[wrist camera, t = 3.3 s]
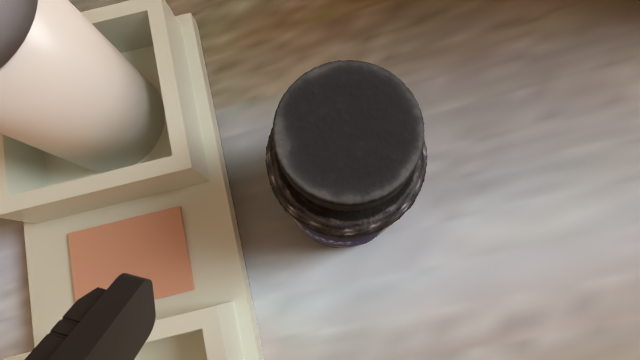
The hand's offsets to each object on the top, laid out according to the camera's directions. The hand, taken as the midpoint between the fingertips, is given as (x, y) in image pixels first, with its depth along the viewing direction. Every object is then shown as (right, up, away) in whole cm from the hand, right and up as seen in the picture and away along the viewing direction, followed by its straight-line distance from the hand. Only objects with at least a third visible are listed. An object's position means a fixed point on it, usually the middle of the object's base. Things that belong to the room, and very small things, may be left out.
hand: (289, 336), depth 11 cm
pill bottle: (+2, +3, +12) cm, 13 cm away
